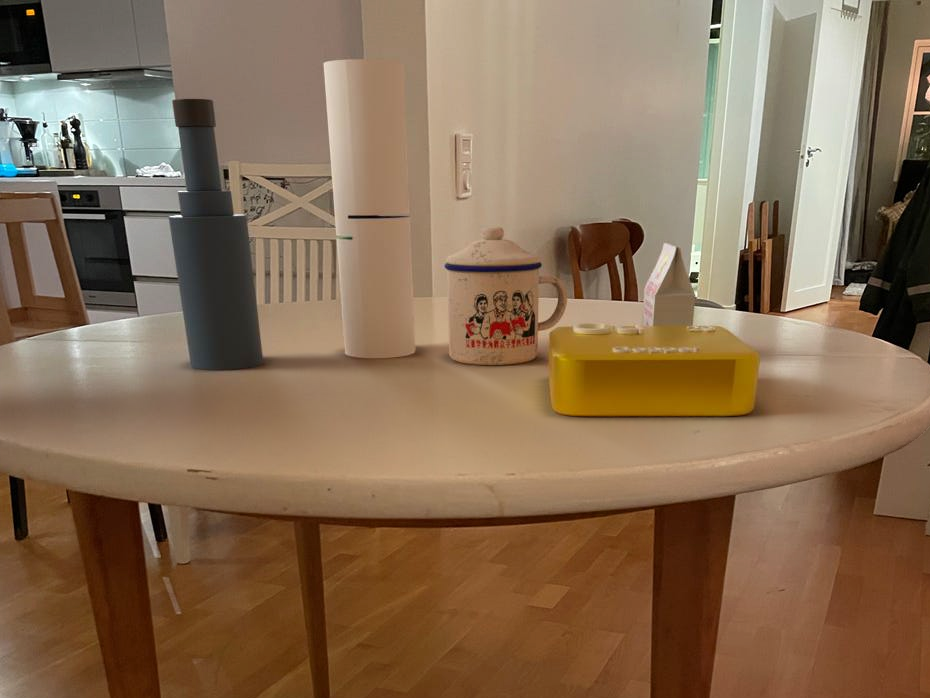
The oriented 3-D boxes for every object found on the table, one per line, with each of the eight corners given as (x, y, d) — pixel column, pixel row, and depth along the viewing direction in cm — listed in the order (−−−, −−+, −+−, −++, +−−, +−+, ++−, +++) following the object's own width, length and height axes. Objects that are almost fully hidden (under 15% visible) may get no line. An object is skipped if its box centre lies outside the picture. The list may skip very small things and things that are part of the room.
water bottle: (187, 371, 85) (145, 97, 75) (194, 359, 91) (156, 103, 81) (262, 368, 86) (230, 97, 76) (264, 356, 92) (235, 103, 82)
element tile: (552, 417, 67) (553, 350, 65) (547, 377, 80) (549, 320, 78) (759, 417, 66) (768, 349, 64) (720, 377, 80) (726, 319, 78)
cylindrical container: (398, 359, 89) (383, 57, 78) (332, 356, 91) (309, 61, 80) (425, 347, 95) (415, 65, 84) (363, 344, 97) (345, 69, 86)
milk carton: (676, 349, 93) (685, 242, 88) (689, 361, 87) (699, 246, 82) (640, 350, 93) (647, 242, 88) (650, 362, 87) (658, 247, 82)
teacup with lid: (461, 369, 85) (458, 231, 79) (436, 353, 92) (432, 226, 87) (582, 361, 88) (587, 227, 82) (548, 346, 95) (551, 223, 90)
